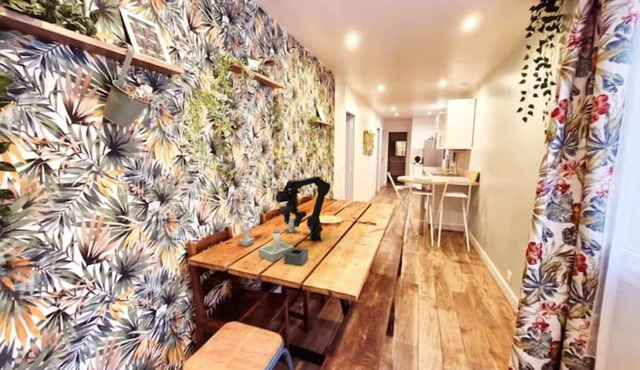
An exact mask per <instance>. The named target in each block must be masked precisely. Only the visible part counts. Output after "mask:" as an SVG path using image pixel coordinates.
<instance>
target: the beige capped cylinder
mask: <svg viewBox="0 0 640 370" xmlns="http://www.w3.org/2000/svg"><path fill="white" fill-rule="evenodd" d="M272 232H273V233H272V236H273V237H272V238H273V240H272V241H273V242H272V244H273V253H275V252H278V251H280V241H281V240H280V239H281V237H280V236H281V233H280V230H279V229H274V230H273V231H272Z"/></svg>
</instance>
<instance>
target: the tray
mask: <svg viewBox="0 0 640 370" xmlns="http://www.w3.org/2000/svg"><path fill="white" fill-rule="evenodd" d="M291 247H292V248H295V246H293V245H291V244H288V243H286V242H283V241H281V240H280V251H278V252H275V253H273V243H271V244H269V245H265V246H263V247H260V248H258V256H259V257H261V258H263V259H265V260H268V261H270V262H275V261H277V260H279V259H282V258H283V259H284V254H285V253H286V252H287V251H288V250H289V249H290V248H291Z"/></svg>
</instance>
